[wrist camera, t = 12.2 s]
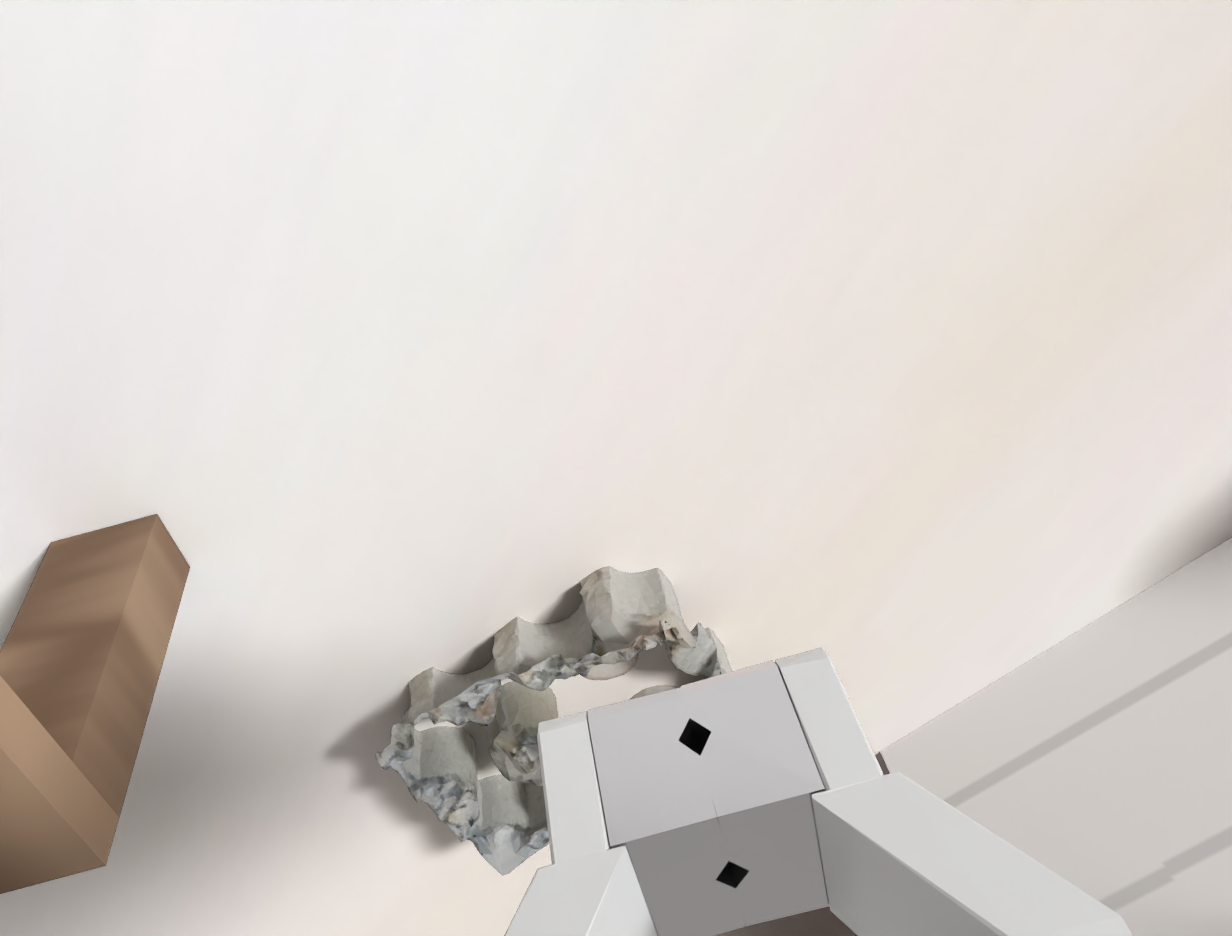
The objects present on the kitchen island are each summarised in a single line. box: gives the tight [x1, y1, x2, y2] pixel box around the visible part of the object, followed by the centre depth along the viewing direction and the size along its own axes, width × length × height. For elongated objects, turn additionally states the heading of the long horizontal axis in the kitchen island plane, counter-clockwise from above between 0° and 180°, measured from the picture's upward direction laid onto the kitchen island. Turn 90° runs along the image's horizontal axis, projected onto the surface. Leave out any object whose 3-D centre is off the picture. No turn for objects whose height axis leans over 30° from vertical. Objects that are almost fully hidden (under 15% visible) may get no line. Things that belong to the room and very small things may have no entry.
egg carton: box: [376, 566, 732, 875], centre depth 33 cm, size 11×8×4 cm
